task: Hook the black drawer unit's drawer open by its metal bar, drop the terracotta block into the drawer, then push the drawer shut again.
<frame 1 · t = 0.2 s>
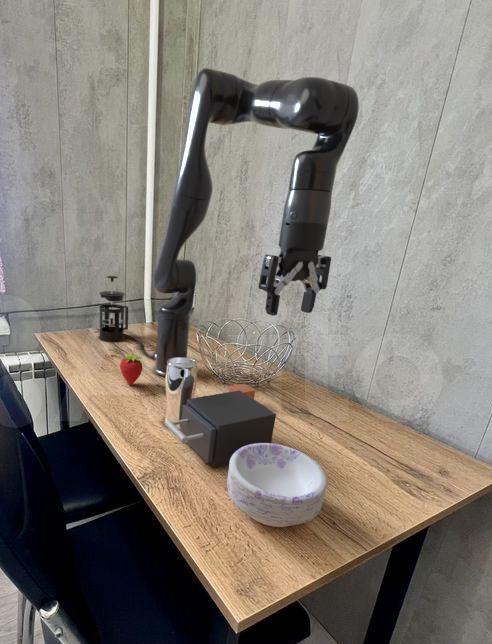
hand: (289, 313, 74), 29 cm above the table, tool pointing down, fingers open, 8 cm apart
beer glass: (177, 423, 92), on the table
strawberry: (130, 385, 111), on the table
paper bowls: (270, 508, 67), on the table
cabinet: (225, 445, 84), on the table
french press: (112, 338, 150), on the table
drawer: (210, 429, 81), point 5 cm above the table, slide at 0.0 cm
block: (240, 404, 103), on the table
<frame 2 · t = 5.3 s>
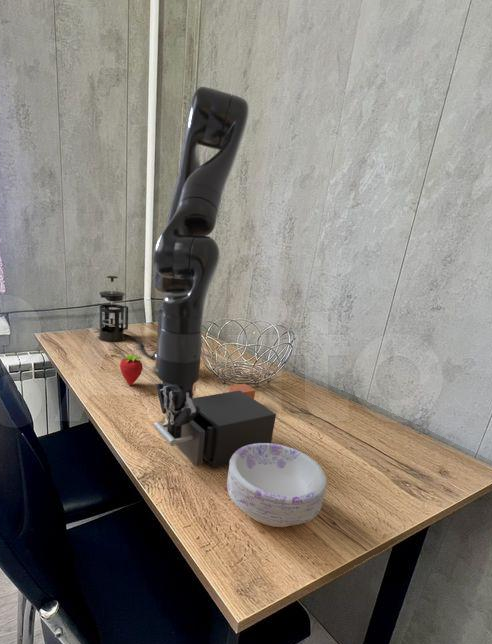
hand: (173, 438, 77), 5 cm above the table, tool pointing down, fingers closed
drawer: (200, 431, 80), point 5 cm above the table, slide at 2.4 cm, touching gripper
everything else where it was.
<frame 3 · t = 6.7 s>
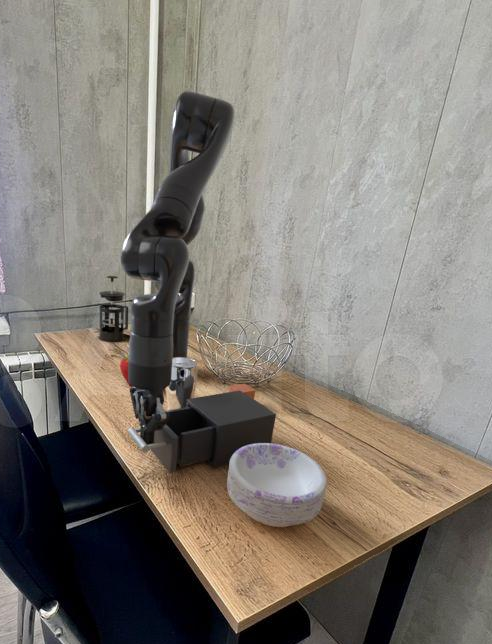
hand: (146, 444, 74), 4 cm above the table, tool pointing down, fingers closed
drawer: (175, 437, 77), point 5 cm above the table, slide at 8.0 cm, touching gripper
everything else where it was.
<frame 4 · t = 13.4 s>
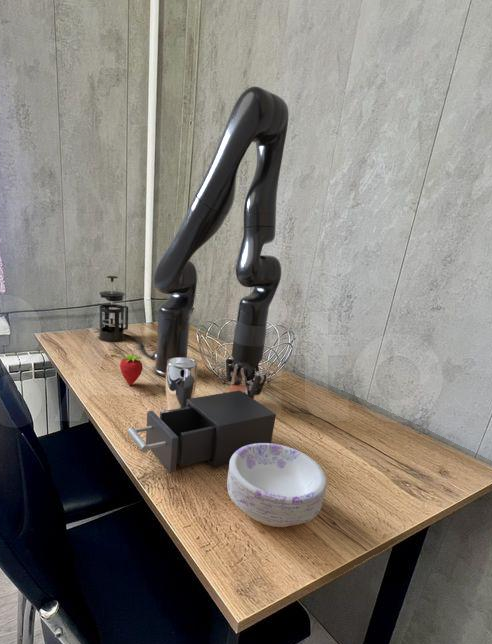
hand: (240, 403, 103), 0 cm above the table, tool pointing down, fingers closed on block, 4 cm apart
drawer: (175, 437, 77), point 5 cm above the table, slide at 8.0 cm
block: (240, 404, 103), on the table, touching gripper
everything else where it was.
when the fingers open (8 cm above the table, at t = 21.1 s): block stays where it is, resting on drawer.
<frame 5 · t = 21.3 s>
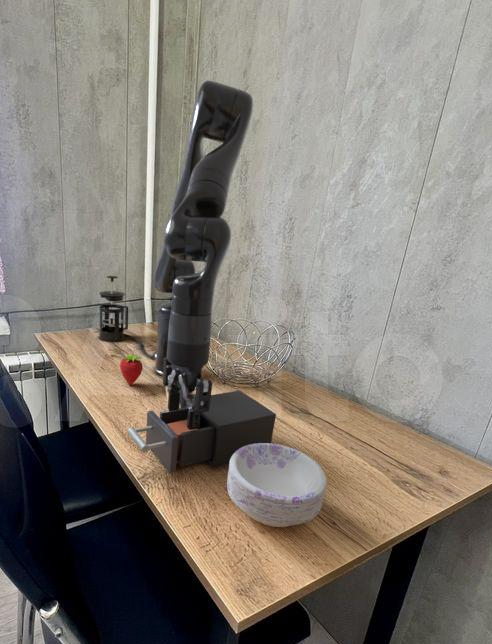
hand: (182, 418, 76), 8 cm above the table, tool pointing down, fingers open, 7 cm apart
drawer: (175, 437, 77), point 5 cm above the table, slide at 8.0 cm, touching block
block: (180, 447, 78), point 2 cm above the table, touching drawer
everything else where it was.
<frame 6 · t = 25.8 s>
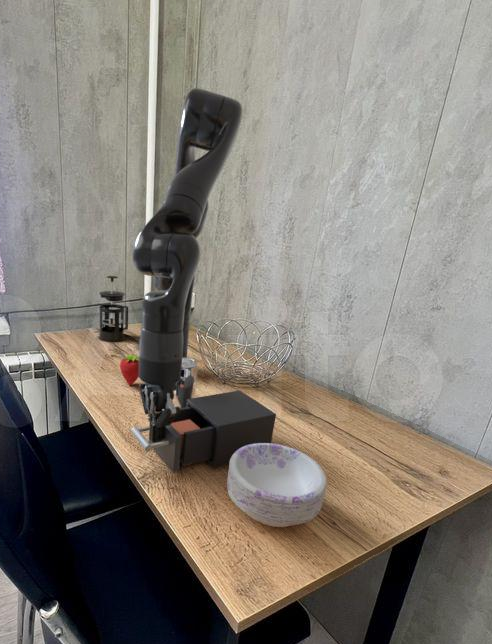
hand: (155, 439, 75), 5 cm above the table, tool pointing down, fingers closed
drawer: (178, 436, 77), point 5 cm above the table, slide at 7.4 cm, touching block
everything else where it was.
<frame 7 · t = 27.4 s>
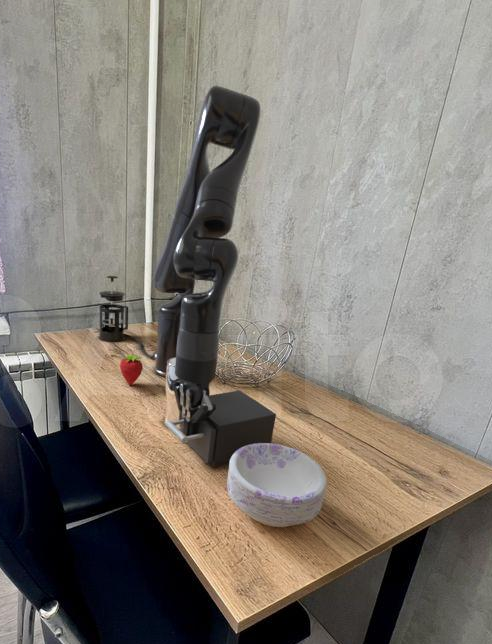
hand: (189, 435, 79), 4 cm above the table, tool pointing down, fingers closed
drawer: (210, 429, 81), point 5 cm above the table, slide at 0.0 cm, touching block, cabinet, gripper
block: (215, 439, 82), point 2 cm above the table, touching drawer
everything else where it was.
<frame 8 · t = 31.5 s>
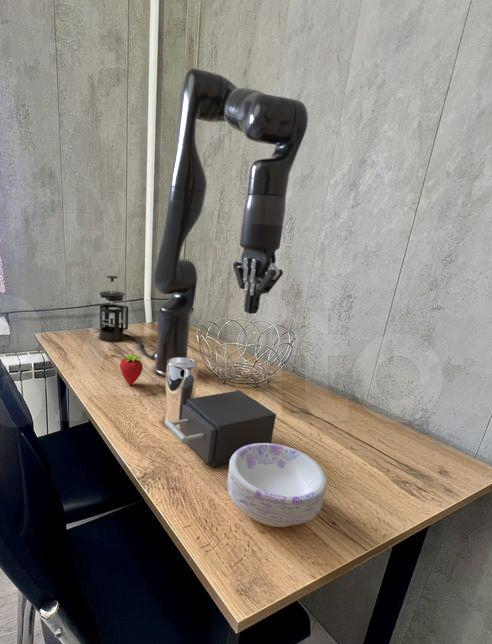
hand: (250, 312, 81), 27 cm above the table, tool pointing down, fingers closed
drawer: (210, 429, 81), point 5 cm above the table, slide at 0.0 cm, touching block, cabinet
everything else where it was.
at the end: drawer pulled out 8.0 cm at the most during the clip, back to where it started at the end; block inside the target area in the cabinet (2.9 cm from its centre), point 2.0 cm above the cabinet's base; drawer slide at 0.0 cm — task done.
